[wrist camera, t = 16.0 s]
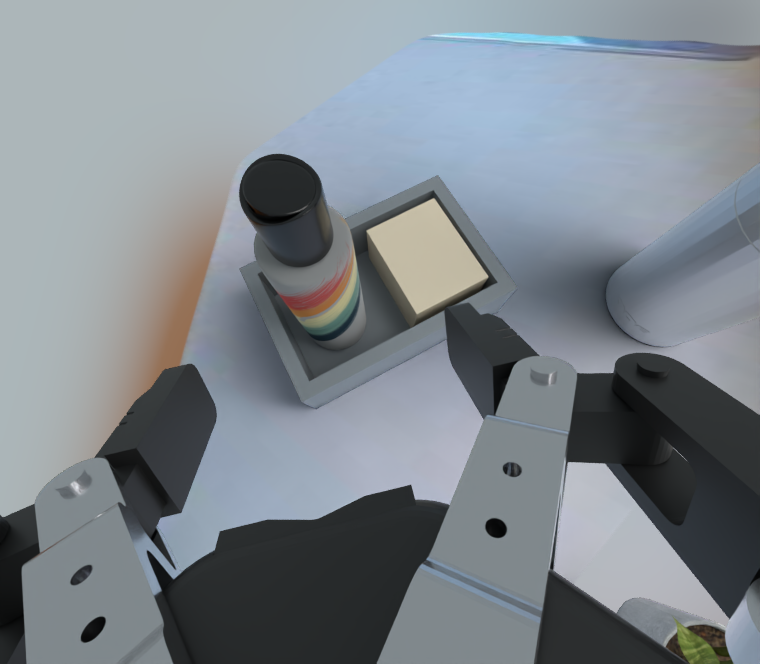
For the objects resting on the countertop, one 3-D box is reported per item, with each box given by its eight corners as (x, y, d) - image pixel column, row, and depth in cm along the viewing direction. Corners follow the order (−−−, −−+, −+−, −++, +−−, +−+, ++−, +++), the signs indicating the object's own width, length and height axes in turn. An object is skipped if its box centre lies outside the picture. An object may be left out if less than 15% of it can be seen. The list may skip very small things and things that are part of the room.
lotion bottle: (298, 312, 35) (192, 163, 16) (349, 285, 36) (305, 112, 17) (324, 362, 34) (243, 262, 15) (377, 333, 35) (364, 201, 16)
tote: (430, 213, 40) (437, 175, 34) (497, 312, 36) (517, 287, 30) (262, 295, 37) (239, 268, 31) (316, 409, 34) (301, 402, 28)
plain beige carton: (428, 228, 38) (434, 198, 33) (474, 299, 36) (488, 276, 31) (369, 257, 37) (366, 230, 32) (412, 331, 35) (416, 314, 30)
